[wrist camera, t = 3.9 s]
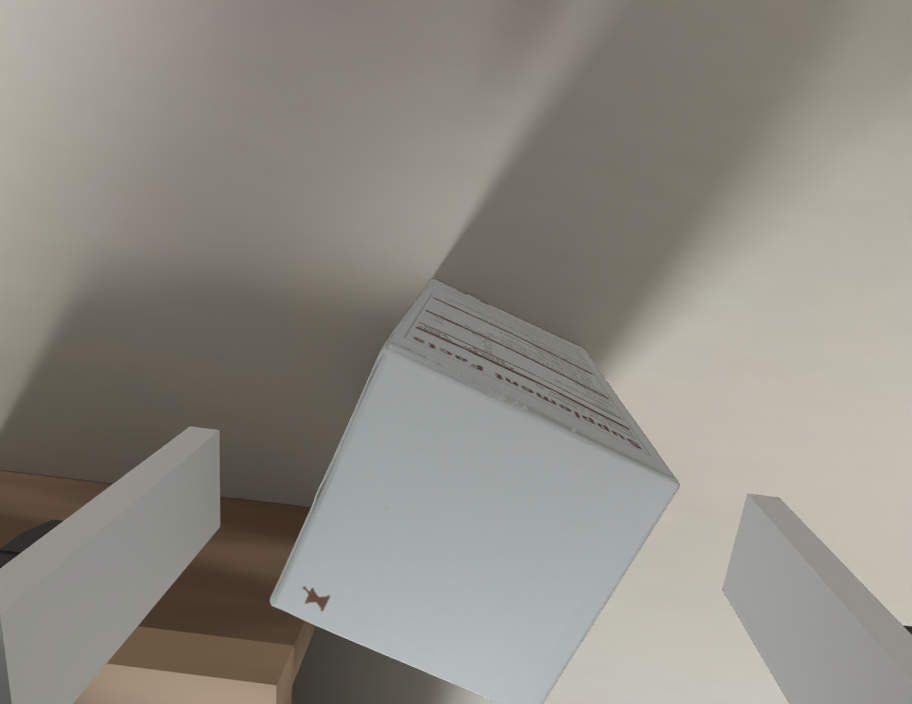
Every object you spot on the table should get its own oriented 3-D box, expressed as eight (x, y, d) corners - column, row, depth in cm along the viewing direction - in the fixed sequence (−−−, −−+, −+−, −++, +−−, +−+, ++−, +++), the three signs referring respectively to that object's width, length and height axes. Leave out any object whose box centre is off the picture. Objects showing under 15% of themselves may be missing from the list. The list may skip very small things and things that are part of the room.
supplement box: (511, 486, 26) (533, 732, 14) (363, 418, 26) (253, 610, 14) (590, 346, 24) (694, 487, 12) (433, 269, 24) (377, 337, 12)
